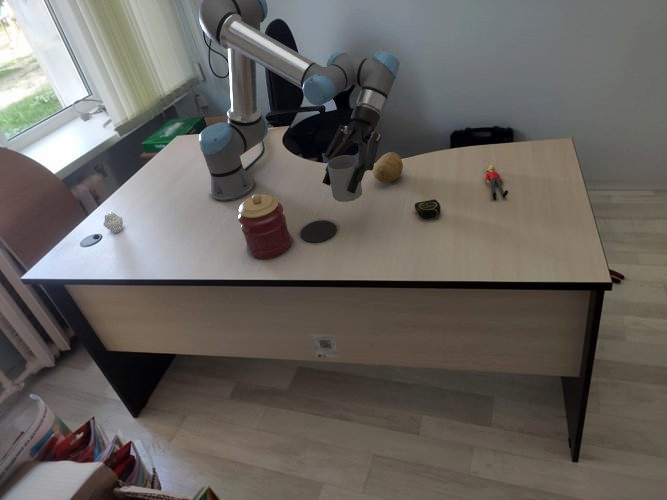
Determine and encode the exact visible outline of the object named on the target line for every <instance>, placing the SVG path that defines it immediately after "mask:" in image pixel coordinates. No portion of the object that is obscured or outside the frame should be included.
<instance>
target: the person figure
mask: <svg viewBox="0 0 667 500" xmlns="http://www.w3.org/2000/svg"><path fill="white" fill-rule="evenodd" d="M486 171H487V173H486V174H485V182H486V184H490V185H491V193H492V199H493V201H496V200H497V192H496V185H497V187H498V189H499V192H500V194H501V196H502V198H506V197H507V195H509V190H507V189H506V190H505V191H504V188H503V186H502V185H503V184H504V180H503V179H501V176H500V174H499V173H498V172H497V171H496V167H495V165H494V164H489V165H488V166H487V168H486ZM489 179H490V180H489Z"/></svg>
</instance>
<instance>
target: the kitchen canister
mask: <svg viewBox="0 0 667 500" xmlns="http://www.w3.org/2000/svg"><path fill="white" fill-rule="evenodd" d="M237 221H238V222H239V223H240V226H241V227H240V229H241V232H242V234H243V237H244V241H245V242H246V248H247V251H249V253H250V255H251V256H252V257H254V258H256V259H264V260H265V259H271V258H275V257H278V256H280V255H282V254H283V253H285V252H286V251H287V250H288V249H289V248H290V246H291V244H292V241H291V239H292V238H291V233H290V231H289V228H288V224H287V217H286V215H285V213H284V207H283V205H282V204H281V202H279V199H278V198H277V197H275V196H274V195H270V194H265V193H261V194H258V193H254V194H253V195H252V196H250V197H248V198H246V199H245V200H244V201H243V202H242V203H241V204H240V205H239V207H238V215H237Z"/></svg>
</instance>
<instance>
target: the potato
mask: <svg viewBox="0 0 667 500" xmlns="http://www.w3.org/2000/svg"><path fill="white" fill-rule="evenodd" d="M403 168H404V164H403V161H402V158H401V157H400V155H399V154H398V153H396V152H394V151H389V152H387V153H384V154H383V155H381V157H380V158H378V160H377V161H375V163H374V168H373V170H372V175H373V177H374V179H375V180H377V181H378V182H379V183H384V184H385V183H391V182H393V181H395V180H397V179H398V178H399V177H400V176H401V174H402V172H403Z"/></svg>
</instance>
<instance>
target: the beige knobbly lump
mask: <svg viewBox="0 0 667 500" xmlns="http://www.w3.org/2000/svg"><path fill="white" fill-rule="evenodd" d="M123 225H124V221H123V217H122V216H120V215H118V214H116V213H115V212H114V211H110V212H108V213H106V214H105V215H104V221H103V227H105V228H106V229H107V230H109V231H110V232H112V233H114V234H115V233H116V234H117V233H119V232H121V231H122V230H123Z"/></svg>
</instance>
